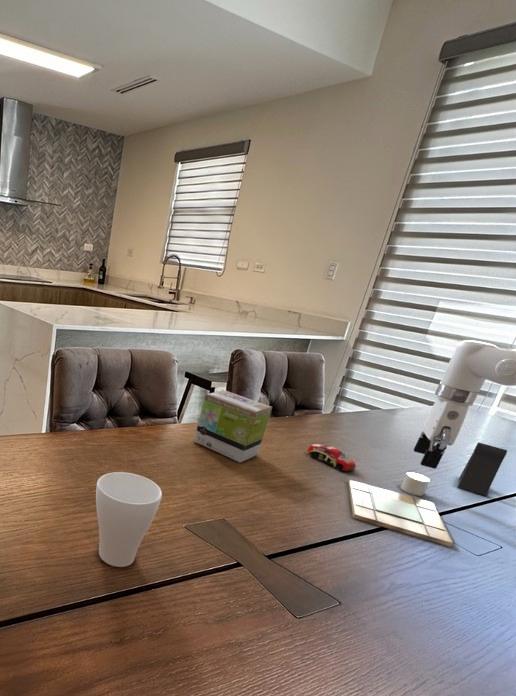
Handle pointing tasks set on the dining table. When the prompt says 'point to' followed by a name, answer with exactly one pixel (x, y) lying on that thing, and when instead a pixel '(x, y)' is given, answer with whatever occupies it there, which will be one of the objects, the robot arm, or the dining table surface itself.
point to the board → (398, 512)
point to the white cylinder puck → (415, 483)
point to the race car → (331, 457)
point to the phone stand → (481, 468)
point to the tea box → (232, 425)
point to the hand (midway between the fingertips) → (423, 459)
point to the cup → (124, 514)
